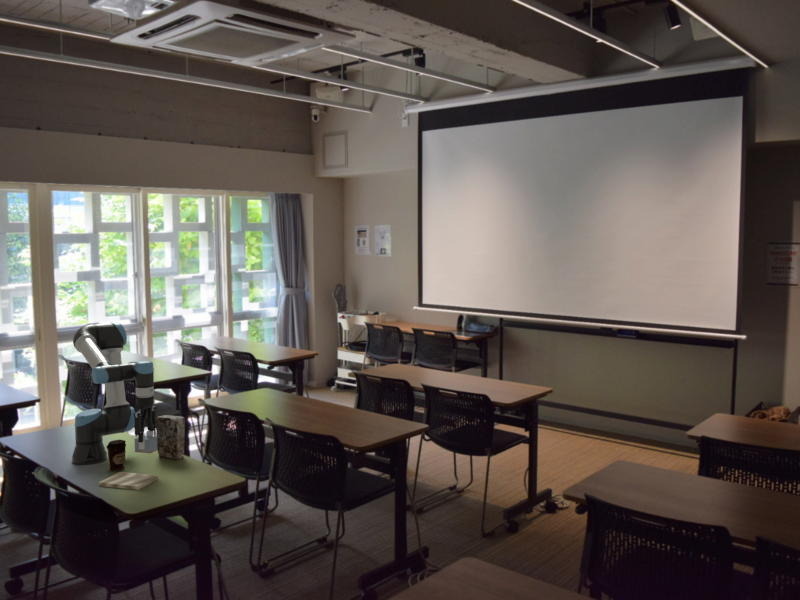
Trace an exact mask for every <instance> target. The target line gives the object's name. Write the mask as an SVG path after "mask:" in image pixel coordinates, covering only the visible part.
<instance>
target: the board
mask: <svg viewBox="0 0 800 600" xmlns="http://www.w3.org/2000/svg"><path fill="white" fill-rule="evenodd" d="M158 479H159V475H156V474H155V475H154V474H145V473H137V472H136V473H135V472H126V471H118V472H117V473H115V474H113V475H111V476H109V477H107V478H104V479H103V480H101V481H99V482H98V487H106V488H116V489H125V490H134V491H140V490H141V489H143V488H145V487H147V486H148V485H150V484H151V483H154V482H155V481H157V480H158Z"/></svg>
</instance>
